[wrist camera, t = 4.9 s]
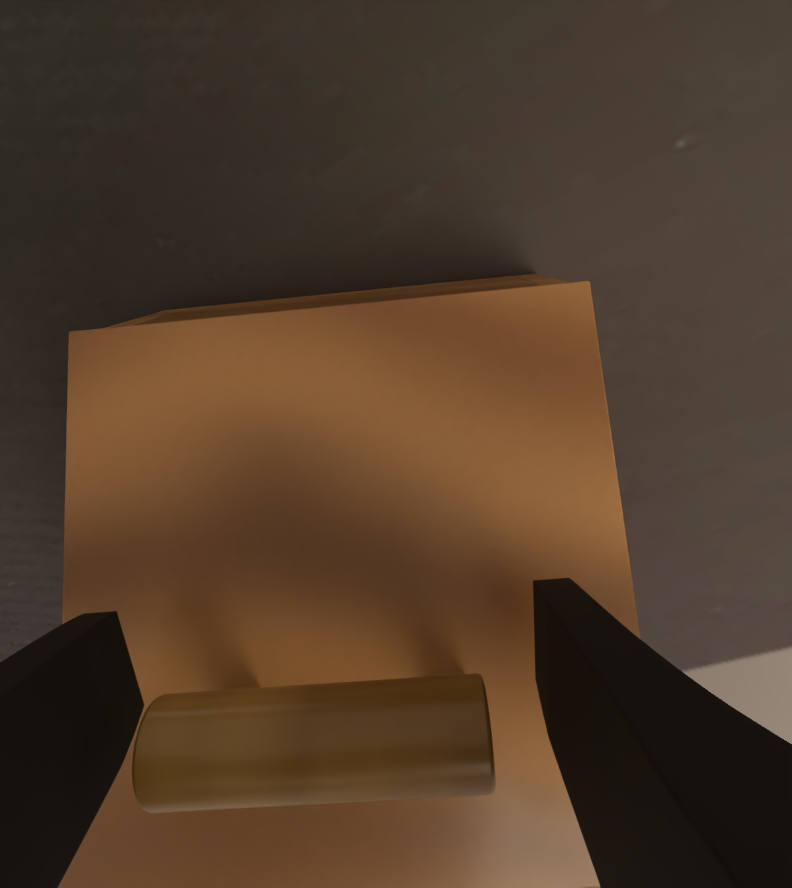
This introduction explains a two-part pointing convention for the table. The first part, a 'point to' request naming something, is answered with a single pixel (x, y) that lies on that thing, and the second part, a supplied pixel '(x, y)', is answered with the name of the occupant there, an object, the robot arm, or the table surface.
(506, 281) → the keepsake box
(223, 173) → the table surface
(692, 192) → the table surface
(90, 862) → the brown piece
